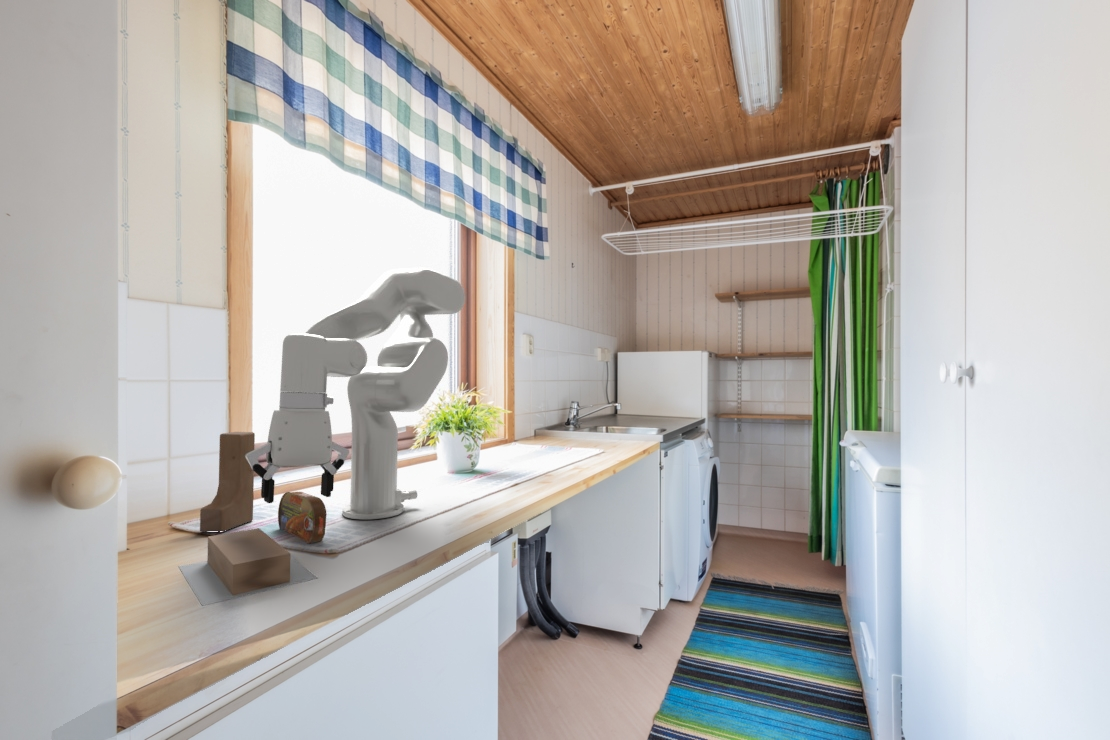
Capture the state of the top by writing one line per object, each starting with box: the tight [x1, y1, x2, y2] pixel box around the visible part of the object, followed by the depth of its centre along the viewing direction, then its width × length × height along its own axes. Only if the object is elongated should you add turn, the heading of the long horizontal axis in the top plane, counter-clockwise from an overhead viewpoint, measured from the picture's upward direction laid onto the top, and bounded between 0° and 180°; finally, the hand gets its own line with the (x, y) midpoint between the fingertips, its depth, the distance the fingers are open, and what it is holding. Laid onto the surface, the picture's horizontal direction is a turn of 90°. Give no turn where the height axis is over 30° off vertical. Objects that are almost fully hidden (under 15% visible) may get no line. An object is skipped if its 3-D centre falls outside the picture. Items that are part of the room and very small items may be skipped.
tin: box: [277, 491, 328, 545], centre depth 96 cm, size 15×3×8 cm, turn 48°
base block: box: [206, 527, 291, 596], centre depth 78 cm, size 7×16×4 cm, turn 43°
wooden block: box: [199, 431, 256, 532], centre depth 104 cm, size 9×4×18 cm, turn 173°
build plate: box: [178, 554, 319, 607], centre depth 78 cm, size 14×18×1 cm
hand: (298, 498), depth 95 cm, fingers open, 9 cm apart
